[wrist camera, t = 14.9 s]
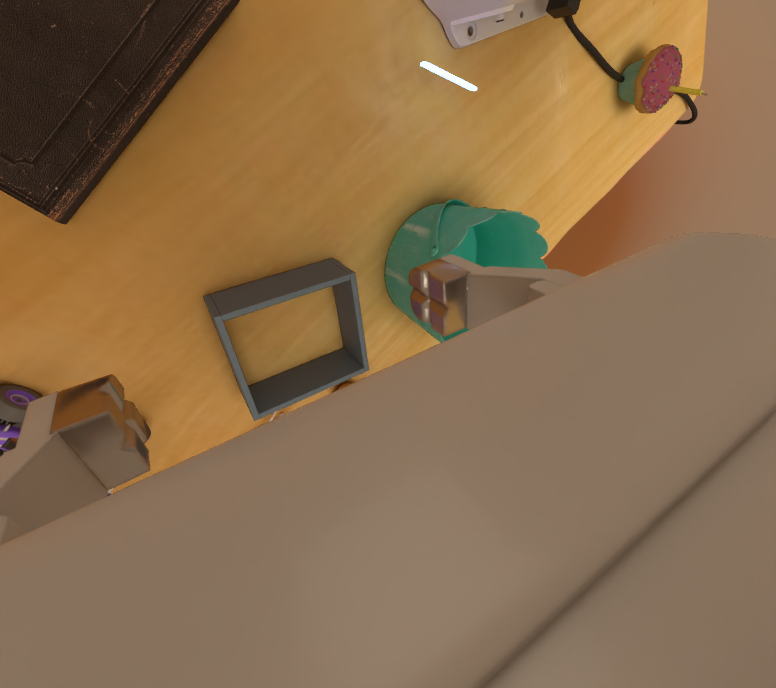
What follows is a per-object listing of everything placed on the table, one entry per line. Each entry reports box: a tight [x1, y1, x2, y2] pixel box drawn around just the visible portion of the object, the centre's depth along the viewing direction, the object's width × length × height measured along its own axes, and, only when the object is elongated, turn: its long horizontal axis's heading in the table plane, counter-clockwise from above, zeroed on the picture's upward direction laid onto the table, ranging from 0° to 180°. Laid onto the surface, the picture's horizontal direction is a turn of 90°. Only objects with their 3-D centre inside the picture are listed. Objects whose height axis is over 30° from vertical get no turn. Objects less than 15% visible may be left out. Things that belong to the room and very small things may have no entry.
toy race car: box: [0, 385, 151, 497], centre depth 36 cm, size 10×15×6 cm, turn 42°
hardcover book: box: [0, 0, 240, 224], centre depth 26 cm, size 16×23×2 cm
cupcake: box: [618, 44, 708, 113], centre depth 56 cm, size 9×8×12 cm
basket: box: [385, 199, 548, 343], centre depth 51 cm, size 19×18×13 cm
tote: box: [203, 258, 369, 421], centre depth 46 cm, size 15×14×6 cm
